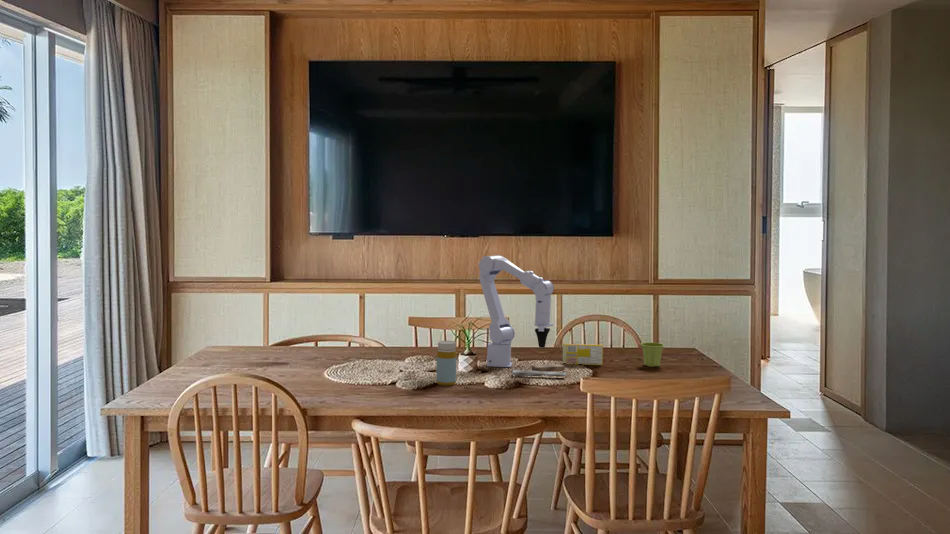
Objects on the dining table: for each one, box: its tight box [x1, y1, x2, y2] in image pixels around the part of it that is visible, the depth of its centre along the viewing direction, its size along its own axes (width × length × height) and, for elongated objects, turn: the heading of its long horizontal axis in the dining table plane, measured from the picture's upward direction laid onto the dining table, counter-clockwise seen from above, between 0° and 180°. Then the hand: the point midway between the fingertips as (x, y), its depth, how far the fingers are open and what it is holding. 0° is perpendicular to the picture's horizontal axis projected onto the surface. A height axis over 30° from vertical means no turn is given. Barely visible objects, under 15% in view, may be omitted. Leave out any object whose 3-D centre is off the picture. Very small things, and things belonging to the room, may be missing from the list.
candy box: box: [562, 343, 604, 366], centre depth 323 cm, size 16×2×8 cm, turn 84°
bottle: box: [435, 340, 457, 387], centre depth 283 cm, size 7×7×15 cm
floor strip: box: [511, 369, 567, 377], centre depth 299 cm, size 20×6×2 cm, turn 82°
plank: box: [531, 363, 566, 372], centre depth 306 cm, size 12×4×3 cm, turn 109°
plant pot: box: [640, 342, 665, 367], centre depth 323 cm, size 9×9×9 cm
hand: (541, 347), depth 306 cm, fingers closed
